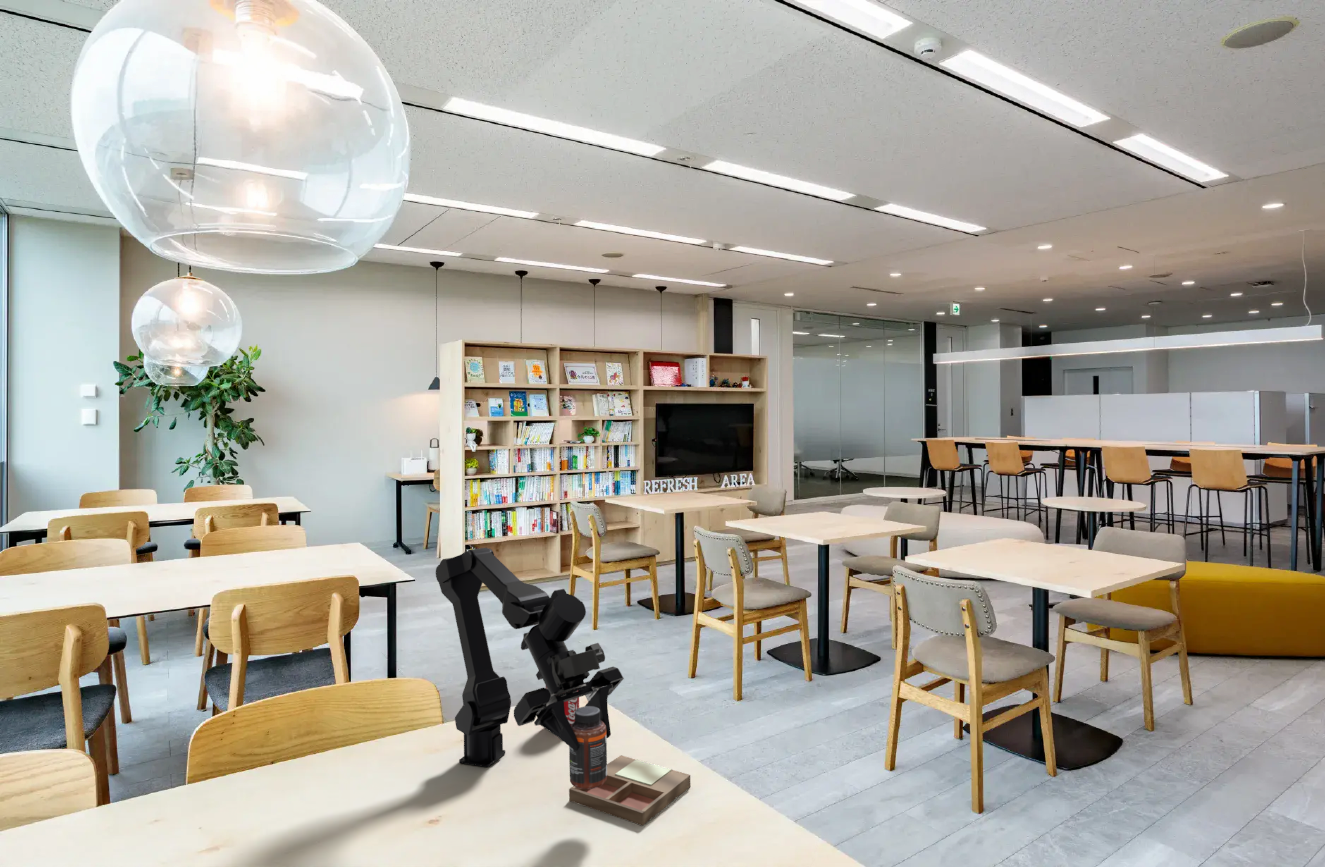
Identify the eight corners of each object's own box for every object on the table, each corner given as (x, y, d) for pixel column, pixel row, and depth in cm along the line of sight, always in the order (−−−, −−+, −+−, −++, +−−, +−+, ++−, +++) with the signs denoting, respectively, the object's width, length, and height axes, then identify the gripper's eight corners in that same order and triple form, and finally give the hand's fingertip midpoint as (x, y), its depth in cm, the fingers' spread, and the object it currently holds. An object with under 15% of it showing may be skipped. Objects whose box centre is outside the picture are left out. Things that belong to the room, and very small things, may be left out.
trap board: (642, 825, 112) (642, 811, 112) (569, 800, 120) (569, 787, 120) (690, 786, 125) (690, 773, 125) (621, 766, 133) (620, 754, 133)
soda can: (582, 720, 154) (581, 665, 154) (575, 734, 147) (574, 676, 147) (550, 720, 155) (549, 664, 155) (542, 733, 148) (541, 675, 148)
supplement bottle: (614, 777, 114) (613, 706, 114) (595, 794, 109) (594, 720, 109) (582, 770, 117) (581, 701, 117) (562, 786, 112) (561, 714, 112)
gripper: (522, 641, 109) (566, 735, 101) (616, 619, 122) (661, 700, 114) (496, 680, 115) (535, 771, 107) (588, 654, 128) (629, 734, 120)
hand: (593, 742), depth 112 cm, fingers closed on supplement bottle, 6 cm apart
